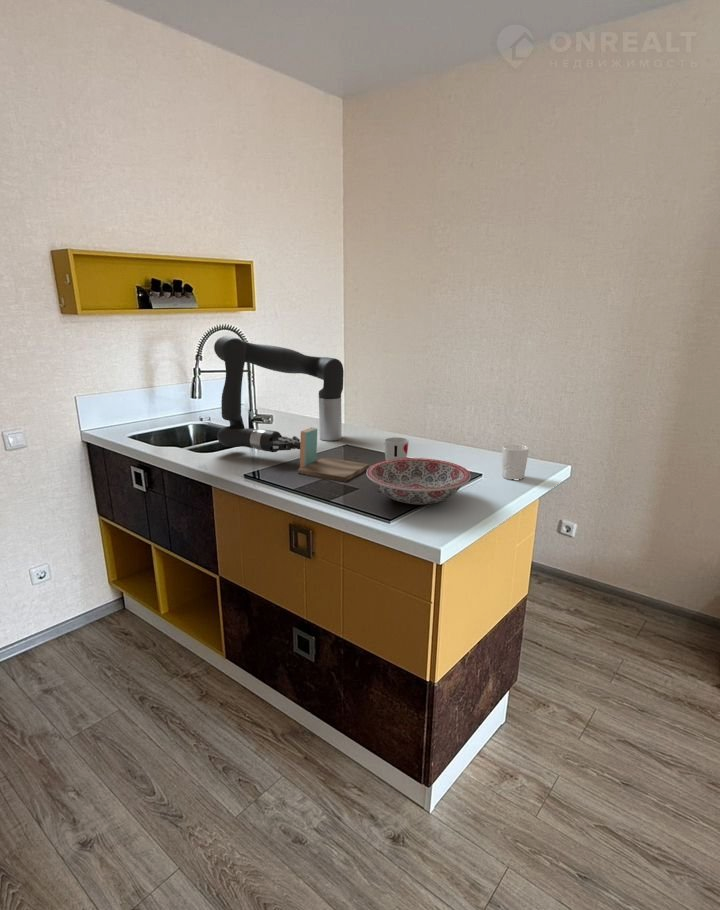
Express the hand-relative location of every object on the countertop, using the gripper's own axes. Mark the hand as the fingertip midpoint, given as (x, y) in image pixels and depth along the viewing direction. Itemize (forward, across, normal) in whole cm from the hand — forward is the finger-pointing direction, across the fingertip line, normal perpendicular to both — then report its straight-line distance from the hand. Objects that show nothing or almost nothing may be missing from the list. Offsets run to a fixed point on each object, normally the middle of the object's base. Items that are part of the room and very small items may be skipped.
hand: (305, 446), depth 178 cm
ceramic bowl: (+46, -10, +7) cm, 48 cm away
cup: (+28, +13, +7) cm, 32 cm away
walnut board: (+11, 0, +7) cm, 13 cm away
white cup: (+65, +23, +7) cm, 69 cm away
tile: (+1, 0, +7) cm, 7 cm away
